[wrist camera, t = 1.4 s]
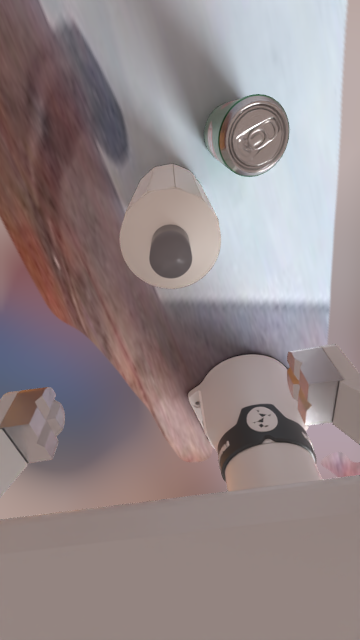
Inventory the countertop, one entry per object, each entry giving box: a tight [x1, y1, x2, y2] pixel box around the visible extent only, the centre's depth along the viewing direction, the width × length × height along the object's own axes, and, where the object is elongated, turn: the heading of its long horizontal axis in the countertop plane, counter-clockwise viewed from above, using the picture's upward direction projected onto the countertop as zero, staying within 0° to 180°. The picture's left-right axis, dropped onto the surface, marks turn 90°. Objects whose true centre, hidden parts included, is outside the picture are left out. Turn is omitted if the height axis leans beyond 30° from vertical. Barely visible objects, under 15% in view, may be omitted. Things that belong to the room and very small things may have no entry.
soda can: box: [204, 94, 289, 177], centre depth 26 cm, size 5×5×12 cm
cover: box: [119, 164, 221, 289], centre depth 27 cm, size 7×7×17 cm
